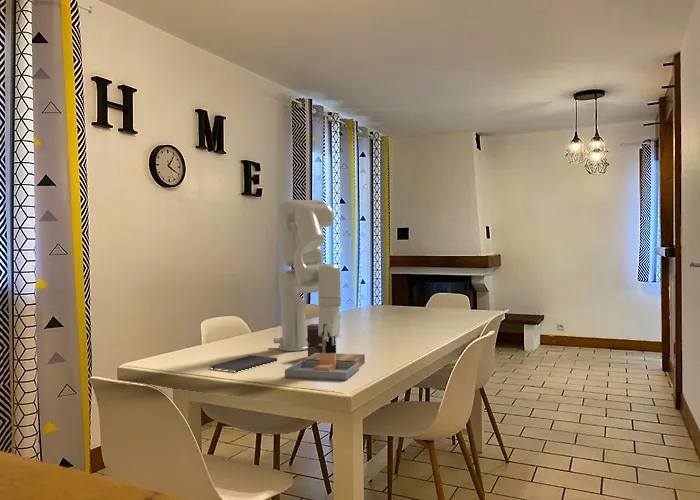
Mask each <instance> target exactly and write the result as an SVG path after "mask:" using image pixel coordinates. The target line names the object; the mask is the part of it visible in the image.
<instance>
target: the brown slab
mask: <svg viewBox="0 0 700 500" xmlns="http://www.w3.org/2000/svg"><path fill="white" fill-rule="evenodd" d="M365 357H366V355H365V354H360V353H336V362H355V363H359V368H360V367H362V366H363V365H365V364H366V360H365ZM304 361H320V353H314V354H313V355H311V356H309V357H308V356H307V357H305V358H304Z"/></svg>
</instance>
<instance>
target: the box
mask: <svg viewBox="0 0 700 500" xmlns="http://www.w3.org/2000/svg"><path fill="white" fill-rule="evenodd" d="M318 326H319V323H310V324H308V325H306V340H307V344H308V349H307V357H309V356H311V355H313V354H314V353H326V347H325V342H324V336H323V337H319V335H318Z"/></svg>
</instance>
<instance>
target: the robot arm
mask: <svg viewBox="0 0 700 500" xmlns="http://www.w3.org/2000/svg"><path fill="white" fill-rule="evenodd" d="M277 216H278V217H277V218H278V221H279V225H280V229H281V234H282V239H281V243H282V245H281V247H282V248H281V249H282V250H281V251H282V254H281V255H282V262H283V264H284V265H285V266H287V267H294V268H293V269H286V270H283V271H282V272H281V273H280V274H279V275H278V286H279V288H278V289H279V292H280V300H281V301H280V302H281V304H280V305H281V335H282V336H281V337H274V338H273V343H274V344H279V345H278V350H280V351H285V352H300V351H301V352H302V351H305V350H308V343H307V322H306V320H307V319H306V303H305V301H304V299H303V298H302V297H301V296H300V295H299V294H307V293H311V294H312V293H317V292H318V293H317V295H318V296H317V297H318V299H317V300H318V310H319V311H318V324H319V326H318V335H319V337H323V336H324V342H325V347H326V353H336V354H337V338H338V337H337V334H341V333H340V332H341V312H339V311H340V307H342V301H341V300H342V296H341V295H342V294H341V292H342V291H341V289H342V288H341V267H340V266H339V265H336V264H334V265H333V264H331V263H323V253H322V248H321V246H322V245H323V244H324V241H325V237H324V236H325V235H324V233H323V230H322V228H327V227H329V228H330V227H331V226H332V225H333V223H334V220H335V216H334V210H333V208H332V207H331V205H329V204H328V203H326V202H324V201H322V200H318V199H317V200H316V199H315V200H314V199H313V200H311V199H308V200H307V199H286V200H283V201H282V202H280V203H279V204H278V208H277Z"/></svg>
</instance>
